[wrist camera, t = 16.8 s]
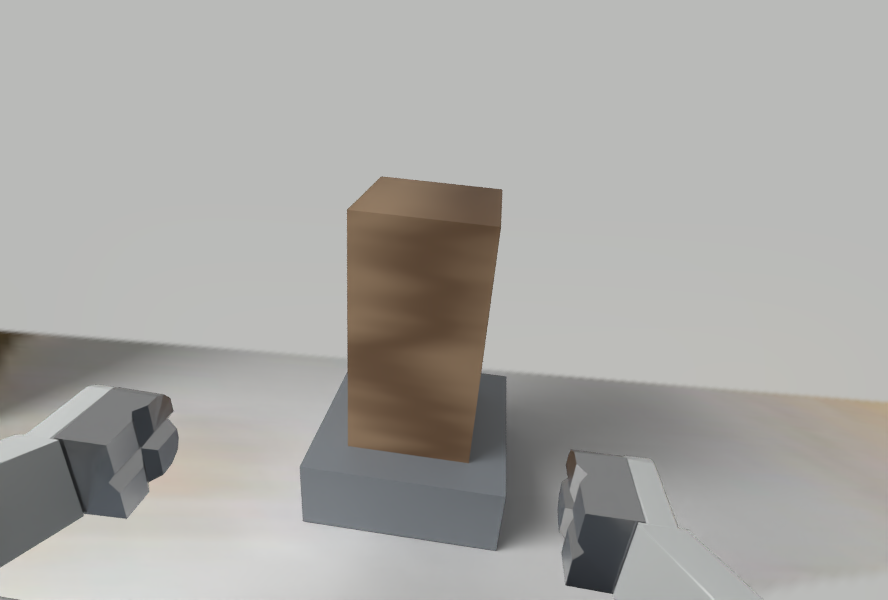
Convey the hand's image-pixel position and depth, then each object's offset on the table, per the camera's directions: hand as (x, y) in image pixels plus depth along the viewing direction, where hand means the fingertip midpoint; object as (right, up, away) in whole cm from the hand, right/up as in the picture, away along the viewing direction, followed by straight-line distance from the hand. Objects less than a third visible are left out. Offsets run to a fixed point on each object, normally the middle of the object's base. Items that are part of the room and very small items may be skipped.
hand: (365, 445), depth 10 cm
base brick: (0, -5, +14) cm, 15 cm away
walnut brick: (0, -2, +13) cm, 13 cm away
